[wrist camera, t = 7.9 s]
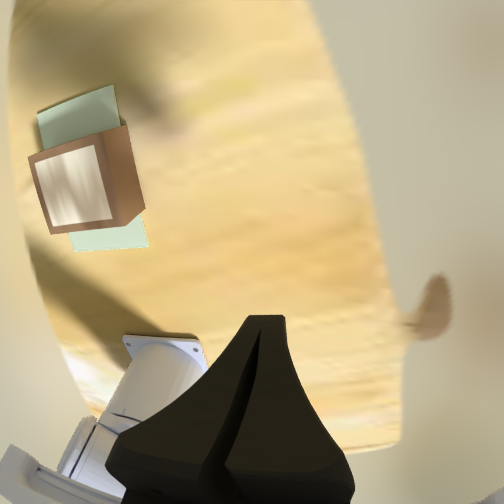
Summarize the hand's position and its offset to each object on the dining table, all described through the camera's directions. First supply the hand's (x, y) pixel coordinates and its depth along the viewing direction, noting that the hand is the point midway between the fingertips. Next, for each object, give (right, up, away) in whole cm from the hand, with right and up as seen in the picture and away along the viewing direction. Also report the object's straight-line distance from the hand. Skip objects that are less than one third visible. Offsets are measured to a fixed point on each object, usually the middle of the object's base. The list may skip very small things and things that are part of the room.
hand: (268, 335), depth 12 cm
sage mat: (-13, +9, +9) cm, 18 cm away
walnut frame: (-9, +8, +7) cm, 14 cm away
